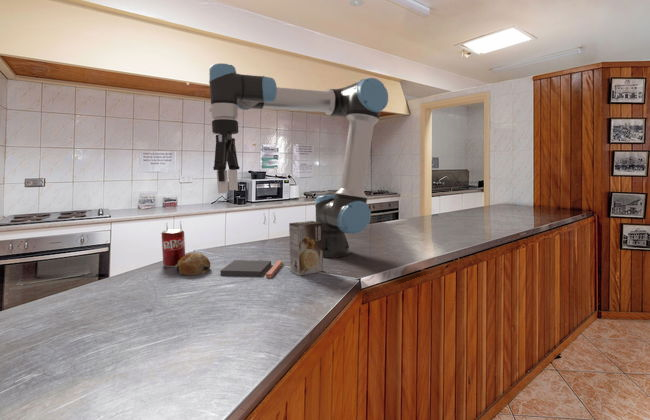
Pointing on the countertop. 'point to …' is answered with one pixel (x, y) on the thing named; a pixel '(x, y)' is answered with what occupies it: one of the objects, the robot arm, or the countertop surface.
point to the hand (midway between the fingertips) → (228, 191)
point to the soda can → (172, 247)
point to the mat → (246, 268)
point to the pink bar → (273, 269)
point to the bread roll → (193, 264)
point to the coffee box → (306, 247)
